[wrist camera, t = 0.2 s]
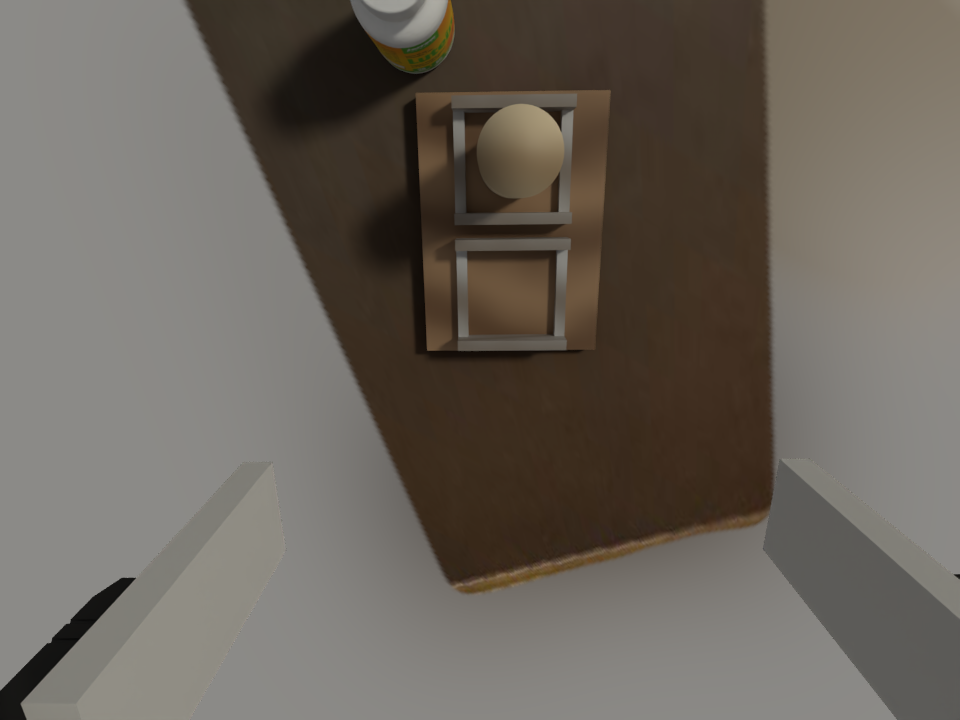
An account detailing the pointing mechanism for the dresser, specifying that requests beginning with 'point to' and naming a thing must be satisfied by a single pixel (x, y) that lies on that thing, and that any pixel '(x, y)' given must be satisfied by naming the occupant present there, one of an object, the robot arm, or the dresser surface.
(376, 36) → the supplement bottle
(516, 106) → the beech dowel
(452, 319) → the board
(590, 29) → the dresser surface
